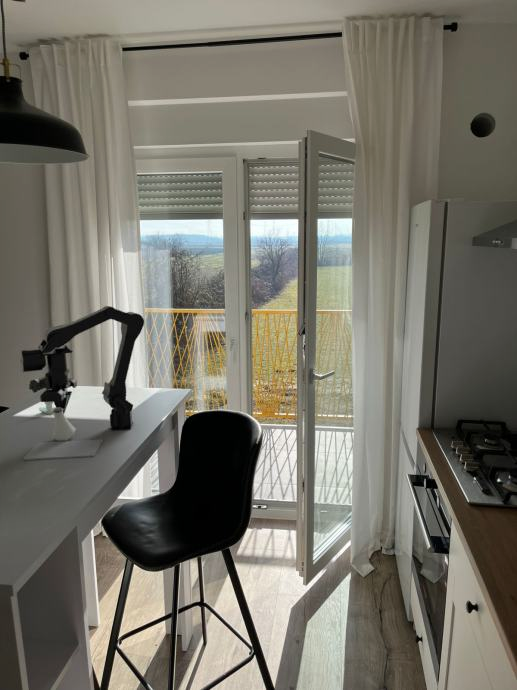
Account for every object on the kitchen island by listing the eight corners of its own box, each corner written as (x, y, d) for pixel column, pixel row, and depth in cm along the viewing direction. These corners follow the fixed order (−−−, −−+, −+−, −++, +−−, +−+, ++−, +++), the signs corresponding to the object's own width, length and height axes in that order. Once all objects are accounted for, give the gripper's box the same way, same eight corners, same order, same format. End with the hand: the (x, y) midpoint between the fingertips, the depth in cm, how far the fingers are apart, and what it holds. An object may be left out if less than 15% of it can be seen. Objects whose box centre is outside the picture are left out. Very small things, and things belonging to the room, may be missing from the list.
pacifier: (43, 411, 202) (38, 415, 196) (41, 395, 201) (36, 399, 195) (62, 410, 202) (58, 414, 197) (61, 394, 202) (57, 398, 196)
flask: (47, 439, 169) (40, 415, 164) (60, 424, 175) (54, 401, 169) (67, 443, 168) (61, 419, 162) (80, 428, 173) (74, 405, 168)
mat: (103, 440, 168) (102, 439, 168) (93, 456, 156) (93, 455, 156) (38, 443, 167) (37, 442, 167) (23, 460, 154) (23, 458, 154)
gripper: (40, 362, 175) (45, 408, 178) (20, 375, 157) (25, 426, 160) (75, 361, 176) (79, 406, 179) (58, 374, 158) (63, 424, 161)
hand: (61, 415), depth 170 cm, fingers closed
